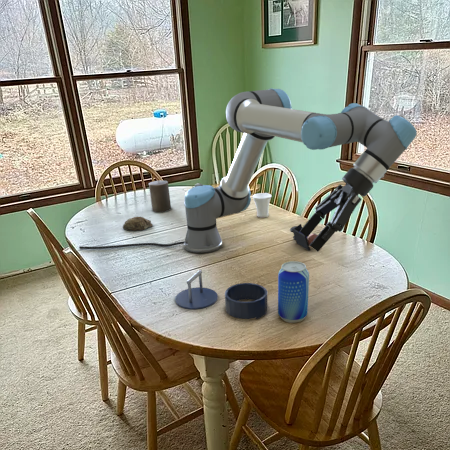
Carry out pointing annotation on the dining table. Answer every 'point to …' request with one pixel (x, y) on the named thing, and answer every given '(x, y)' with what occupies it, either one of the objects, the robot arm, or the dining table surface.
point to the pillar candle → (160, 196)
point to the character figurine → (302, 237)
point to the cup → (262, 204)
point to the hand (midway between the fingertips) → (308, 241)
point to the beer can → (293, 291)
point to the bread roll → (137, 224)
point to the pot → (246, 308)
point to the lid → (196, 295)
